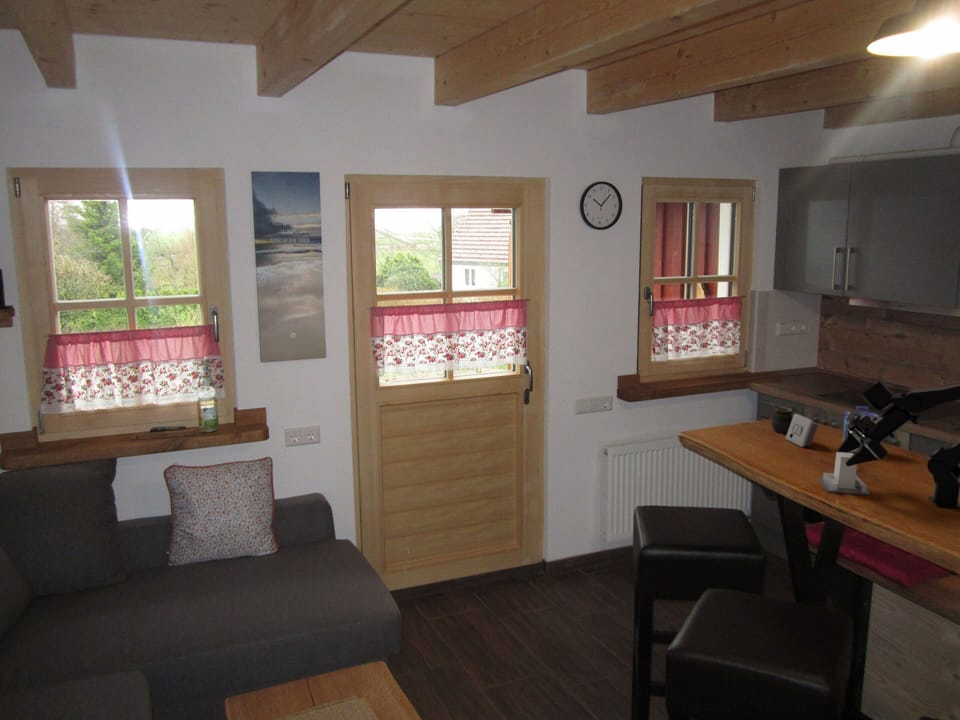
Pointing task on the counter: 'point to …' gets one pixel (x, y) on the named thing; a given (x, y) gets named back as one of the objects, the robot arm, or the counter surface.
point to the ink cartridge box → (861, 414)
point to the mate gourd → (782, 419)
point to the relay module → (844, 471)
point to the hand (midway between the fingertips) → (841, 459)
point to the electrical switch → (801, 431)
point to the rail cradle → (832, 488)
